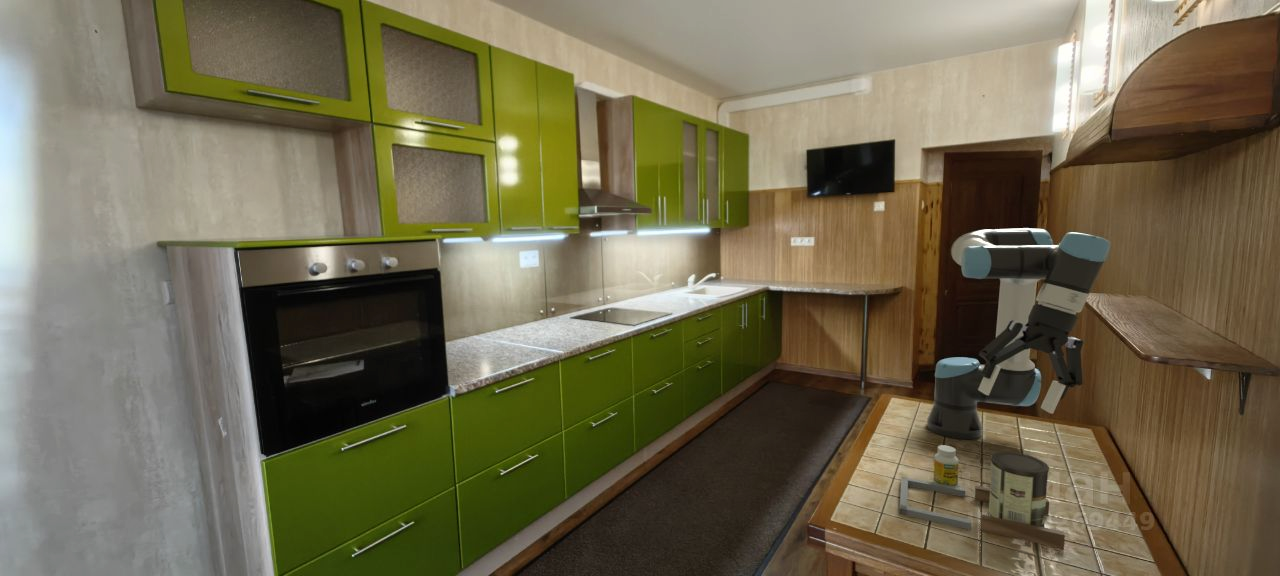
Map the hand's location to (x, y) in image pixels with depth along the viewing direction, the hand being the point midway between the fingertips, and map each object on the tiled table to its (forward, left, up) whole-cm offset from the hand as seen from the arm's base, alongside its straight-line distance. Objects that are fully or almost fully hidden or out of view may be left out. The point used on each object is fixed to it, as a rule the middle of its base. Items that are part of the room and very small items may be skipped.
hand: (1014, 401), depth 107 cm
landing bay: (-4, -14, -29) cm, 32 cm away
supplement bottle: (-16, -11, -29) cm, 35 cm away
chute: (-4, +2, -29) cm, 29 cm away
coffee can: (-4, +2, -29) cm, 29 cm away
